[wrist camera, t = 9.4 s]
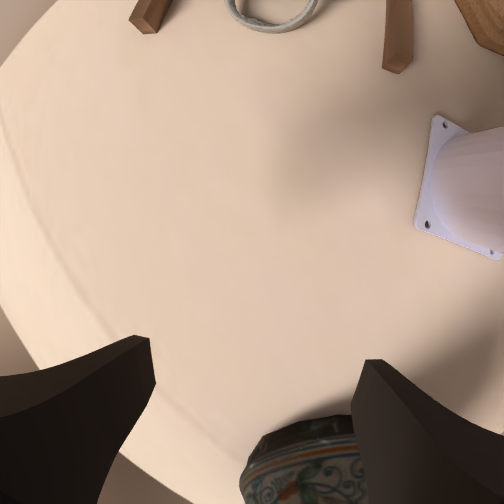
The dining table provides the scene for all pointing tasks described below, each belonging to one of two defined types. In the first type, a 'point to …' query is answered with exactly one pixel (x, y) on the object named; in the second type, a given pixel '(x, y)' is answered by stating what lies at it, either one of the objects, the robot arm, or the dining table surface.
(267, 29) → the ceramic mug
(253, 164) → the dining table surface
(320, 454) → the beer stein
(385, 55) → the walnut dock
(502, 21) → the candle holder
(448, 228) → the robot arm
